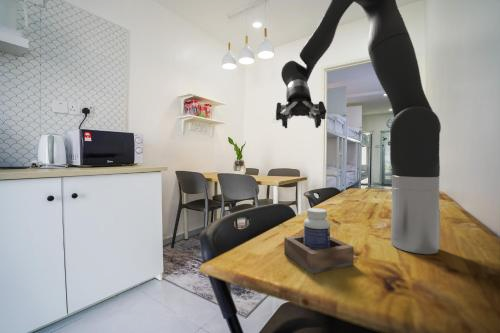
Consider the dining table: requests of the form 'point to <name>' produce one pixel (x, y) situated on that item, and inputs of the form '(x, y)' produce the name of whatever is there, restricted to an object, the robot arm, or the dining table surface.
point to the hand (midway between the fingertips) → (301, 125)
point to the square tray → (319, 254)
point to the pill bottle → (316, 229)
